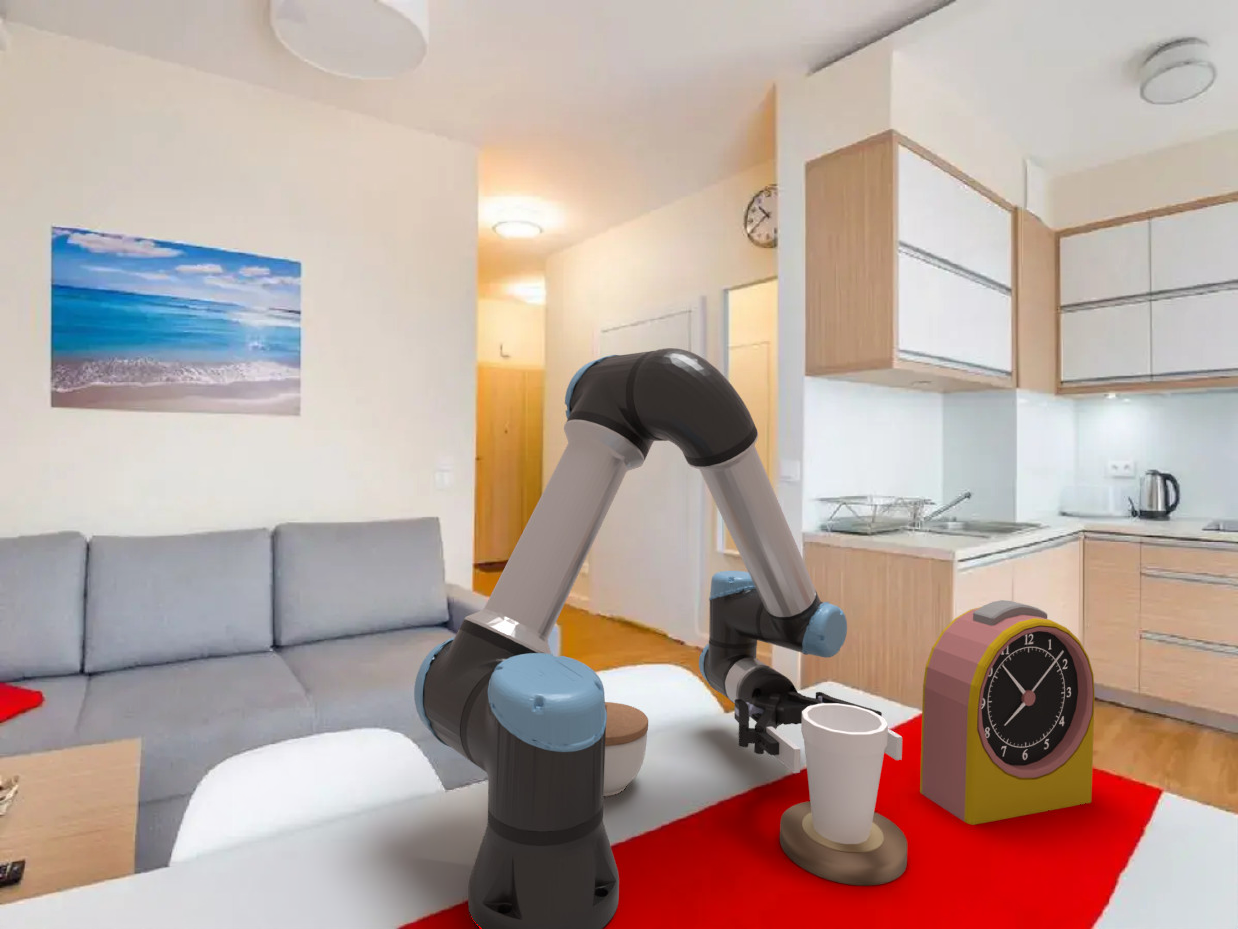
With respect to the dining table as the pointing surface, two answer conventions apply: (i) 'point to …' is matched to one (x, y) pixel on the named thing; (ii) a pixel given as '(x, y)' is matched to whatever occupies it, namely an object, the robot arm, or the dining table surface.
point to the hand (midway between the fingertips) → (849, 754)
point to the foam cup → (843, 768)
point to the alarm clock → (1007, 715)
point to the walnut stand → (844, 850)
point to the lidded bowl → (623, 746)
